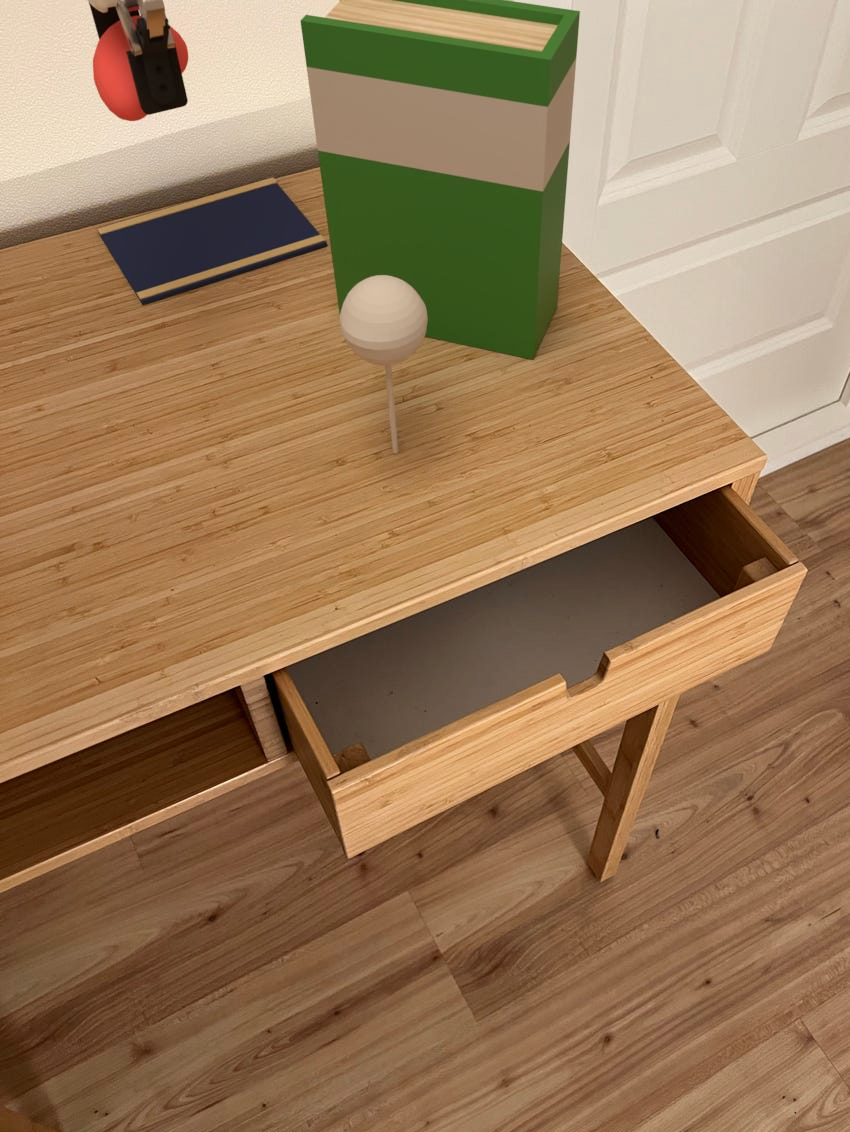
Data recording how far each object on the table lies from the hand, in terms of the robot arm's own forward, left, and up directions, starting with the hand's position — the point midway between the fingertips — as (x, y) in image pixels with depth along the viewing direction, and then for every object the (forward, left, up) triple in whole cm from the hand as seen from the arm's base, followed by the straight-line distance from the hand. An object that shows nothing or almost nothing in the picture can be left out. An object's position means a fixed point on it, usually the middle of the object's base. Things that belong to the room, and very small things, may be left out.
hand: (145, 80), depth 71 cm
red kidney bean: (0, 0, -2) cm, 2 cm away
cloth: (+5, +10, -20) cm, 23 cm away
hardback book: (+19, -11, -20) cm, 29 cm away
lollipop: (+7, -24, -20) cm, 32 cm away
